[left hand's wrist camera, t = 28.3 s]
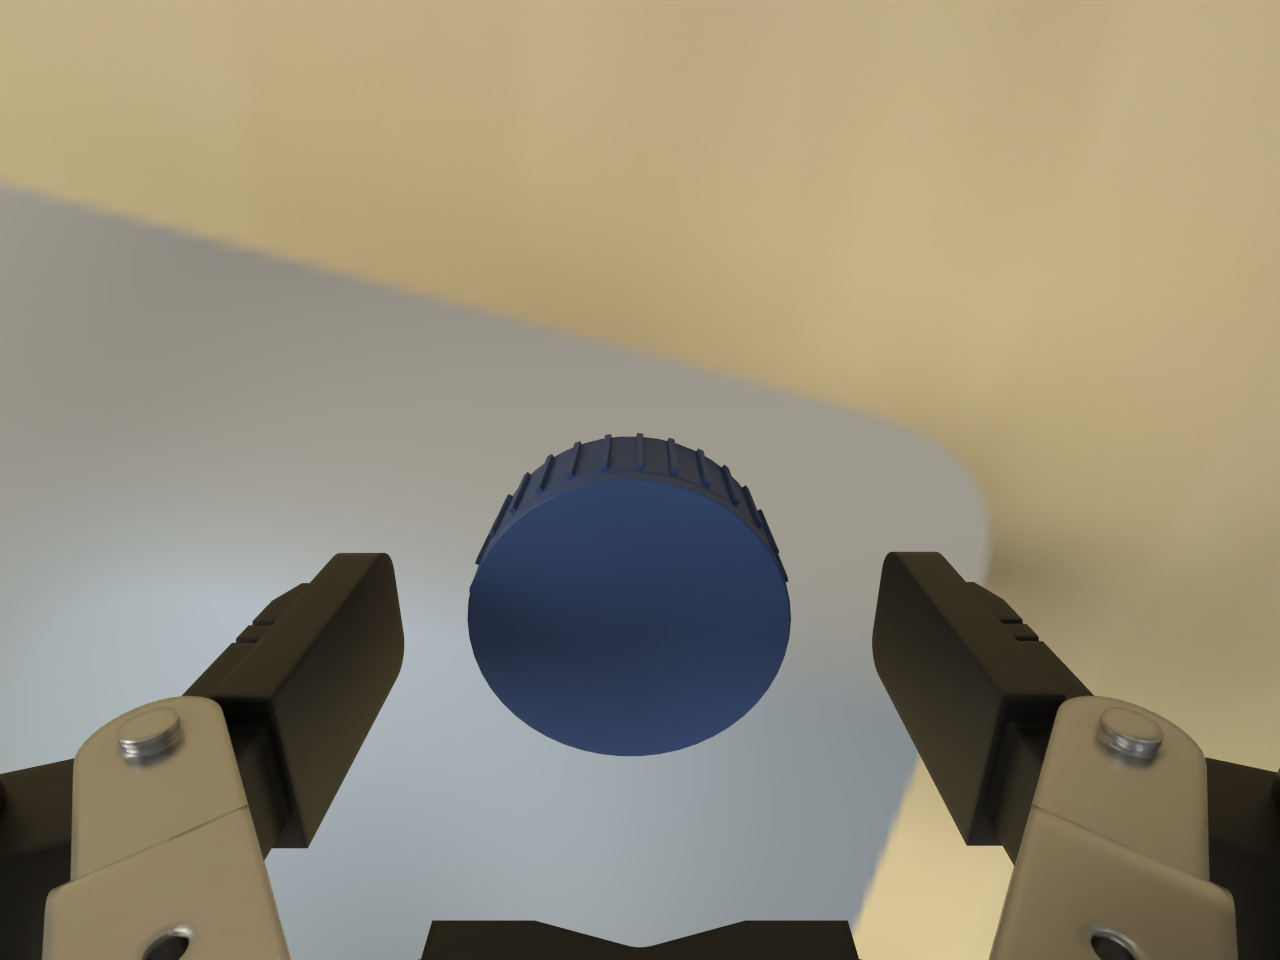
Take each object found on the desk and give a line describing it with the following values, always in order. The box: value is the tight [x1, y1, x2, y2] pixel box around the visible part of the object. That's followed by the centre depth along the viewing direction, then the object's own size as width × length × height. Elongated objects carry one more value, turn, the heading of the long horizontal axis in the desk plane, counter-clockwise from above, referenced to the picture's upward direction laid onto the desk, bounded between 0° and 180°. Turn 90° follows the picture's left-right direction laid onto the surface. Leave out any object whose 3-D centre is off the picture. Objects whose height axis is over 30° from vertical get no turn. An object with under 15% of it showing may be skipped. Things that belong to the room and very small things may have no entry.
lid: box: [468, 433, 791, 756], centre depth 12 cm, size 5×5×2 cm
